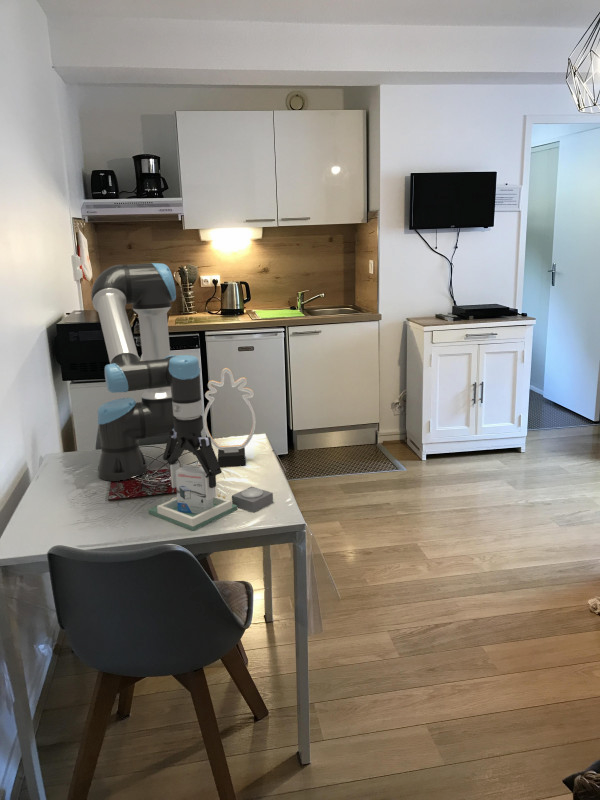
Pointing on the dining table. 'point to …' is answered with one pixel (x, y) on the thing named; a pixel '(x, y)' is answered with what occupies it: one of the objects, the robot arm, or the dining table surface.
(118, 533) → the dining table surface
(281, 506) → the dining table surface
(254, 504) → the push button
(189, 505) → the ink box
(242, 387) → the lamp
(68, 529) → the dining table surface
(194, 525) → the board
